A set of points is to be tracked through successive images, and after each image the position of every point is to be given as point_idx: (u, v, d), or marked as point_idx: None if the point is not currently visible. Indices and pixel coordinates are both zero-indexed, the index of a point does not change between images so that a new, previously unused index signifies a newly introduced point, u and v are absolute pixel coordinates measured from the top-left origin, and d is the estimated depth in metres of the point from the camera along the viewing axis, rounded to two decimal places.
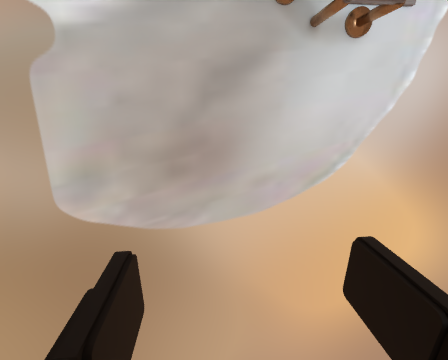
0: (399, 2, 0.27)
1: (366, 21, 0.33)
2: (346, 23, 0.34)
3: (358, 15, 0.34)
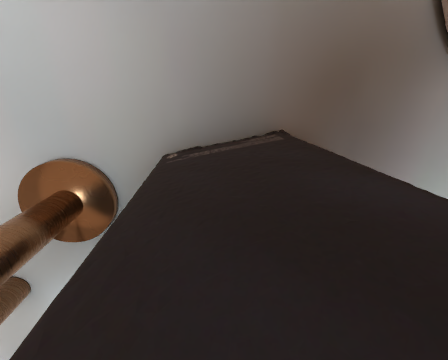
0: None
1: None
2: None
3: None
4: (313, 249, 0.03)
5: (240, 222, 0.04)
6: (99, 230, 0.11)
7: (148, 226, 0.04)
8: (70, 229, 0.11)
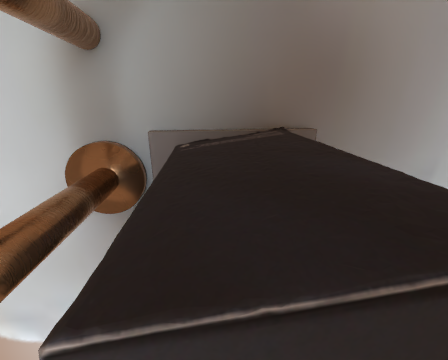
0: None
1: None
2: (96, 142, 0.12)
3: (119, 172, 0.12)
4: (304, 197, 0.04)
5: (251, 185, 0.05)
6: None
7: (179, 188, 0.05)
8: None
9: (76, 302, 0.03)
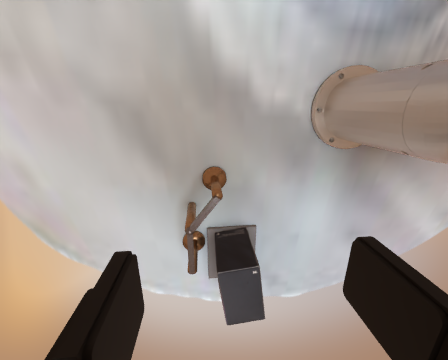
0: (189, 270, 0.33)
1: None
2: None
3: (198, 239, 0.41)
4: (239, 259, 0.33)
5: (233, 255, 0.34)
6: (221, 186, 0.38)
7: (222, 255, 0.34)
8: None
9: (218, 270, 0.31)
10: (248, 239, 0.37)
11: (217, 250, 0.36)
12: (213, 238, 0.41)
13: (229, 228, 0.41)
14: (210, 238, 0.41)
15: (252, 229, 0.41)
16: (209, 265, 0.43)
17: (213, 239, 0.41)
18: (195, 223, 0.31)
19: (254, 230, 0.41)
